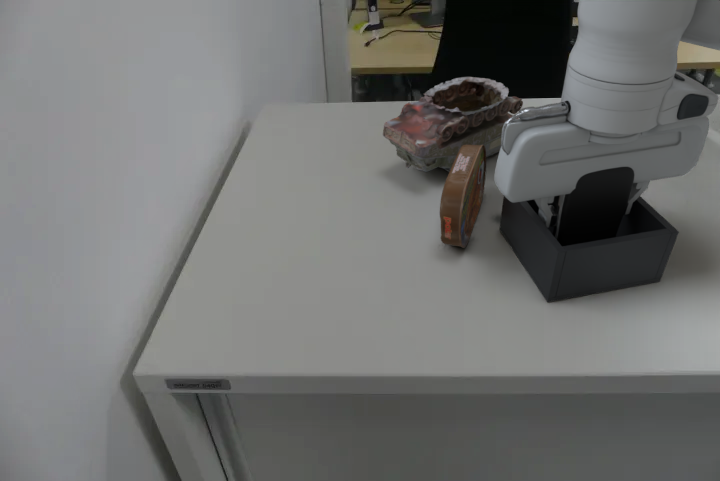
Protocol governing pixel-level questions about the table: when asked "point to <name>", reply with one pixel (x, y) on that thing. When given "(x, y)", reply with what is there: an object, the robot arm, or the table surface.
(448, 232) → the tin
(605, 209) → the battery charger
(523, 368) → the table surface
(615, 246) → the open box
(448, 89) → the decorative box
